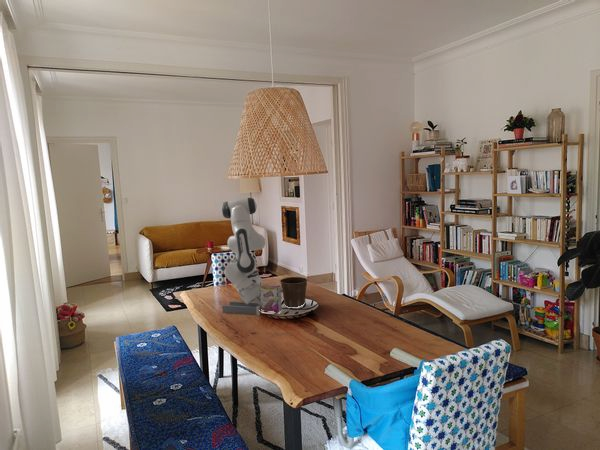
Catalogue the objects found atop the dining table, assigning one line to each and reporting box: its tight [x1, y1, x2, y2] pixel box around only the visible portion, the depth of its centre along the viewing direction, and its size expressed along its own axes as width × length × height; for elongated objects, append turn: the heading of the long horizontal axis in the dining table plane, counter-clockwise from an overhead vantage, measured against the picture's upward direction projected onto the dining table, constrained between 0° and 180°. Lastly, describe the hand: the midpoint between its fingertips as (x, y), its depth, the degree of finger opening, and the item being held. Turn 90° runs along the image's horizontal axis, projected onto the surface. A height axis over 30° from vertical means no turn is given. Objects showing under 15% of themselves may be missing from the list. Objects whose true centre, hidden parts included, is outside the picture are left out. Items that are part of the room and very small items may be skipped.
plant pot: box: [279, 276, 309, 307], centre depth 264 cm, size 16×16×16 cm
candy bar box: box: [260, 283, 283, 315], centre depth 253 cm, size 11×5×16 cm, turn 70°
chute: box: [221, 300, 262, 316], centre depth 260 cm, size 12×24×5 cm, turn 70°
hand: (261, 304), depth 256 cm, fingers closed, pressing on candy bar box
